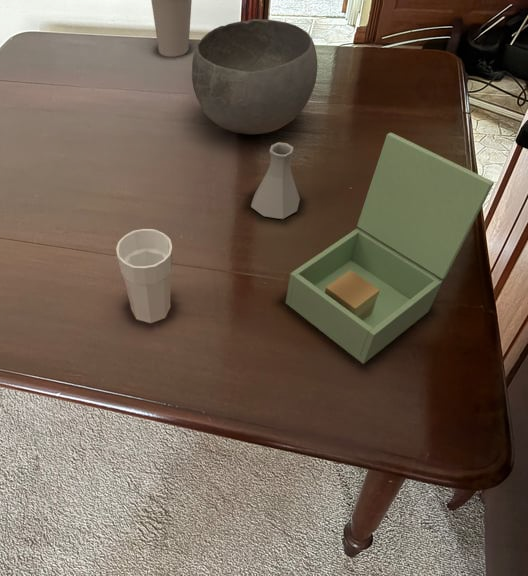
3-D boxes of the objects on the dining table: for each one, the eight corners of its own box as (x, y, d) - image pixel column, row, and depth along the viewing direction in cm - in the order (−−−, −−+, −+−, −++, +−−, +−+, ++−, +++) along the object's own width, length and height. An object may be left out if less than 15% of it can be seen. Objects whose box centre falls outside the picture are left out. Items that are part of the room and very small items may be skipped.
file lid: (491, 184, 57) (494, 182, 57) (386, 133, 64) (390, 131, 64) (442, 279, 66) (446, 277, 66) (356, 226, 73) (360, 224, 73)
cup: (115, 309, 75) (104, 249, 67) (150, 281, 78) (144, 221, 70) (150, 335, 72) (143, 277, 63) (186, 306, 74) (183, 245, 66)
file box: (363, 364, 66) (374, 335, 62) (285, 303, 73) (290, 273, 69) (428, 311, 71) (443, 280, 66) (349, 258, 78) (357, 227, 74)
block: (372, 313, 70) (380, 290, 67) (348, 331, 69) (355, 308, 65) (343, 293, 73) (350, 269, 70) (320, 310, 71) (325, 287, 68)
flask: (285, 226, 83) (293, 170, 76) (242, 209, 86) (245, 154, 79) (307, 199, 87) (317, 143, 79) (265, 183, 90) (271, 128, 82)
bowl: (289, 86, 109) (299, 6, 98) (324, 146, 95) (340, 60, 84) (184, 101, 109) (182, 21, 97) (204, 163, 95) (204, 78, 84)
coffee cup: (204, 46, 123) (204, -28, 112) (176, 64, 118) (173, -12, 107) (170, 36, 127) (167, -37, 116) (142, 52, 123) (136, -21, 112)
